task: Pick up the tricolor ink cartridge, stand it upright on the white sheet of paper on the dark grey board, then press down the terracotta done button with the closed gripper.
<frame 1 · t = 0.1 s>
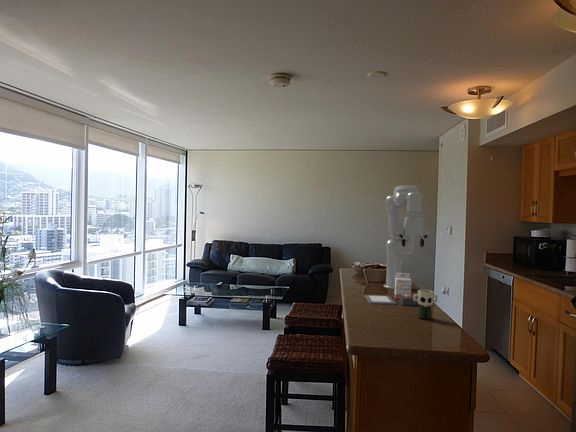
hand: (412, 246, 227), 31 cm above the countertop, tool pointing down, fingers open, 9 cm apart
button housing: (407, 303, 227), on the countertop
ink cartridge box: (402, 299, 239), on the countertop
drawing board: (379, 300, 234), on the countertop
done button: (407, 296, 227), point 4 cm above the countertop, slide at 0.0 cm
character mug: (424, 318, 198), on the countertop
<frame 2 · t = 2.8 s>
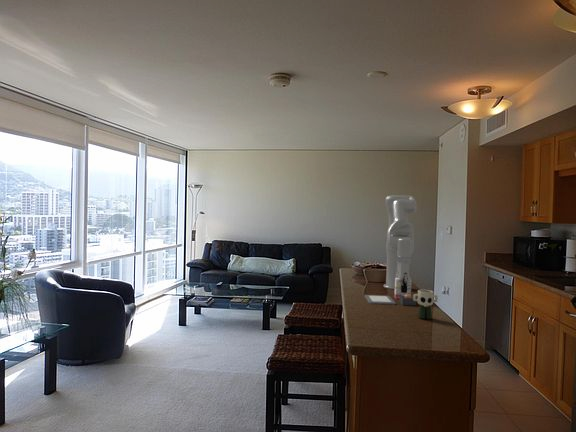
hand: (402, 291, 239), 4 cm above the countertop, tool pointing down, fingers closed on ink cartridge box, 5 cm apart
ink cartridge box: (402, 299, 239), on the countertop, touching gripper
everything else where it was.
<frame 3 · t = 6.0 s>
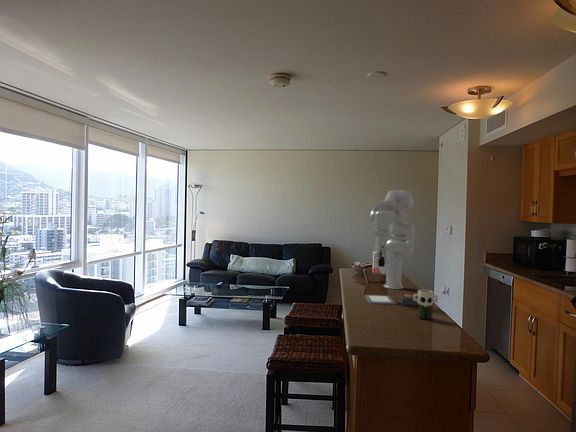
hand: (380, 265, 235), 19 cm above the countertop, tool pointing down, fingers closed on ink cartridge box, 5 cm apart
ink cartridge box: (380, 273, 235), point 15 cm above the countertop, touching gripper
everything else where it was.
when the fingers open (6 cm above the countertop, at t = 8.8 s): ink cartridge box stays where it is, resting on drawing board.
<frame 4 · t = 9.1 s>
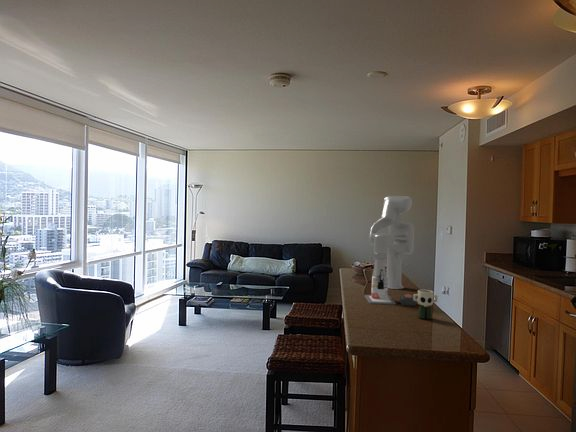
hand: (379, 287, 236), 7 cm above the countertop, tool pointing down, fingers open, 7 cm apart
ink cartridge box: (379, 298, 236), point 1 cm above the countertop, touching drawing board
everything else where it was.
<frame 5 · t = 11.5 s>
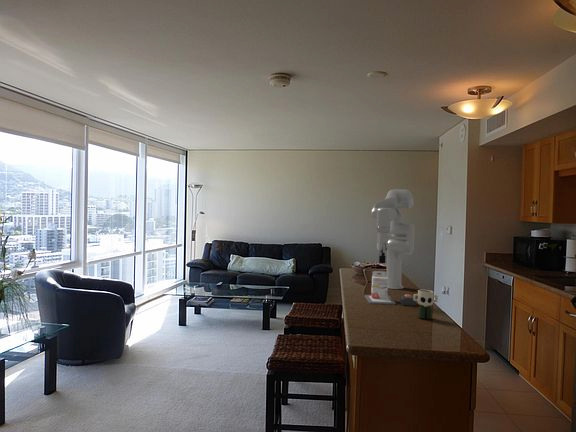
hand: (382, 262, 234), 21 cm above the countertop, tool pointing down, fingers closed
nothing on the countertop moved.
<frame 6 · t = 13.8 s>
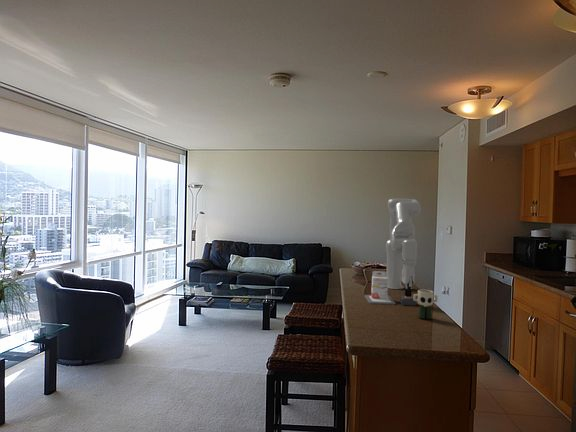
hand: (407, 296, 227), 4 cm above the countertop, tool pointing down, fingers closed
done button: (407, 298, 227), point 3 cm above the countertop, slide at 0.7 cm
everything else where it was.
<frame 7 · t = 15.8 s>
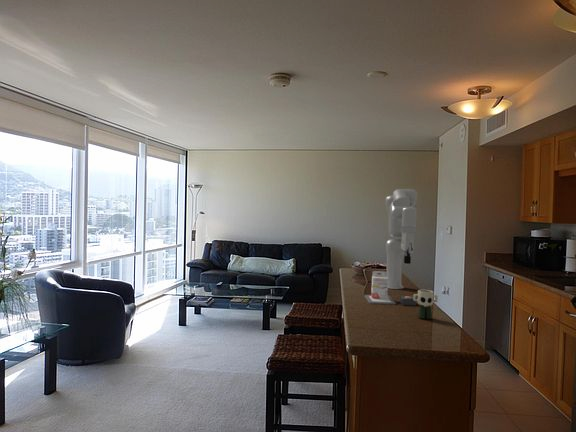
hand: (407, 263, 230), 22 cm above the countertop, tool pointing down, fingers closed
done button: (407, 298, 227), point 3 cm above the countertop, slide at 1.1 cm
everything else where it was.
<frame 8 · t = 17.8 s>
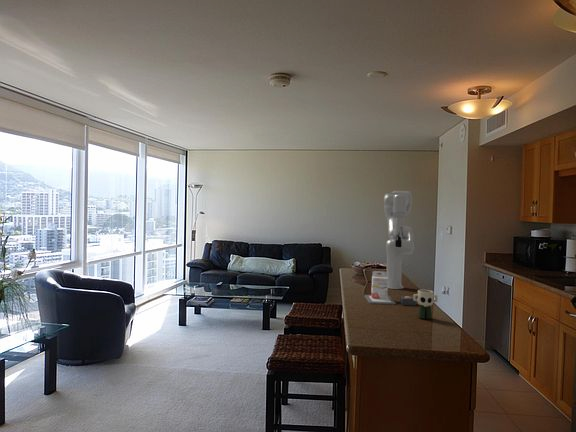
hand: (398, 247, 244), 29 cm above the countertop, tool pointing down, fingers closed
nothing on the countertop moved.
at the end: ink cartridge box inside the target area on the drawing board (2.1 cm from its centre), point 0.8 cm above the drawing board's base; ink cartridge box tilted 0°; done button slide at 1.1 cm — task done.
